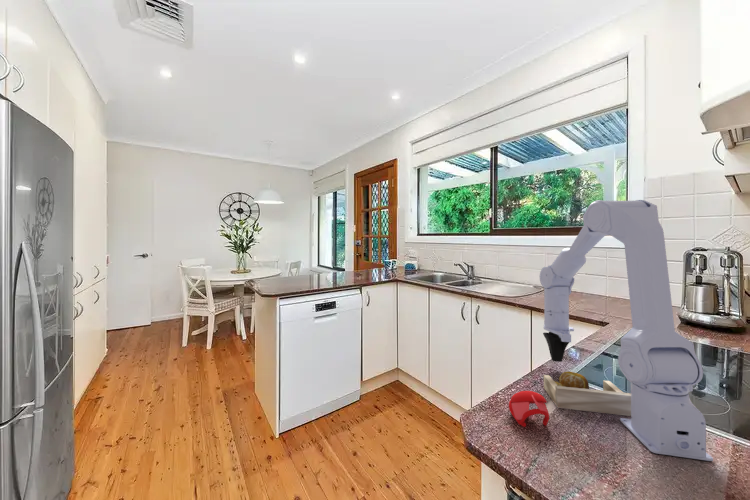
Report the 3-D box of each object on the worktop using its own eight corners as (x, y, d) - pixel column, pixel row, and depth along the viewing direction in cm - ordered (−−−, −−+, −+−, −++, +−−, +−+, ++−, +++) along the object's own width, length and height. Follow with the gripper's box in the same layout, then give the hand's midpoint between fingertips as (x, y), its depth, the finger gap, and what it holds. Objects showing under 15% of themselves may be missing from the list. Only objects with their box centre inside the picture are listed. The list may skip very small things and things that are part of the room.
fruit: (544, 387, 70) (544, 372, 70) (561, 379, 74) (561, 364, 74) (584, 402, 63) (584, 385, 63) (599, 392, 68) (599, 376, 68)
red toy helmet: (564, 415, 52) (547, 385, 57) (536, 408, 51) (521, 377, 56) (535, 437, 56) (521, 406, 61) (509, 430, 55) (497, 400, 60)
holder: (634, 416, 57) (634, 396, 57) (557, 407, 60) (557, 388, 60) (609, 394, 66) (609, 376, 66) (543, 387, 69) (543, 370, 69)
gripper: (585, 317, 72) (585, 372, 72) (562, 306, 86) (563, 352, 86) (553, 316, 74) (553, 370, 73) (536, 305, 88) (536, 350, 88)
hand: (556, 360), depth 80 cm, fingers closed
